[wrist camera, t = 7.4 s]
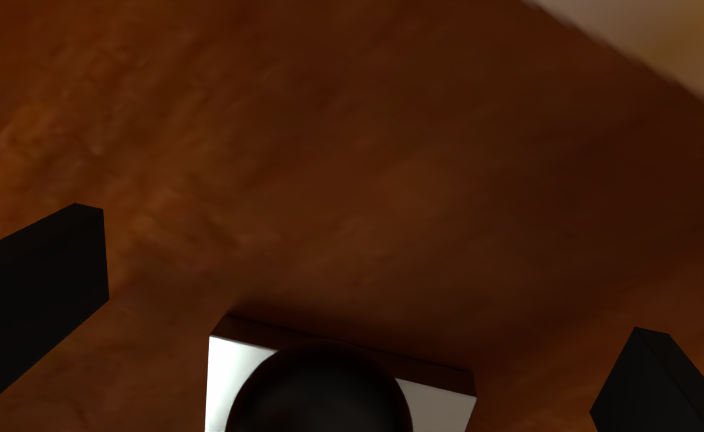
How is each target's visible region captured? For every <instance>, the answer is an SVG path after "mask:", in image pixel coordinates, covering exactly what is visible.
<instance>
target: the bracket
mask: <svg viewBox="0 0 704 432" xmlns="http://www.w3.org/2000/svg"><path fill="white" fill-rule="evenodd" d="M312 339H324V338H320V337H316V336H311V335H307V334H303V333H299V332H294V331H290V330H286V329H281V328H277V327H273V326H269V325H264V324H260V323H256V322H251V321H247V320H243V319H238V318H234V317H230V316H226V315H224V316H223V317H222V318H221V319H220V321H219V322H218V324H217V325H216V327H215V328H214V329H213V331H212V332H211V334H210V335H209V354H208V374H207V394H206V414H205V432H225V427H226V422H227V419H228V415H229V412H230V409H231V406H232V404H233V401H234V399H235V397H236V395H237V393H238V391H239V390H240V388H241V386H242V385H243V383H244V382H245V380H246V379H247V378H248V376H249V375H250V374H251V373H252V371H253V370H254V369H255V368H256V367H257V366H258V365H259V364H260V363H261V362H263V361H264V360H265V359H267V358H268V357H269V356H271V355H272V354H274V353H275V352H277V351H279V350H281V349H282V348H284V347H286V346H289V345H291V344H294V343H297V342H301V341H305V340H312ZM357 347H359V346H357ZM359 348H361V349H363V350H365V351H366V352H368V353H370V354H371V355H373V356H374V357H375V358H376V359H378V360H379V361H380V362H381V363H382V364H383V365H384V366H385V367H386V368H387V369H388V370H389V371H390V372H391V374H392V375H393V376H394V378H395V379H396V381H397V382H398V384H399V386H400V388H401V389H402V391H403V393H404V395H405V398H406V400H407V403H408V406H409V408H410V412H411V416H412V421H413V429H414V432H465V430H466V427H467V424H468V422H469V419H470V416H471V414H472V411H473V408H474V406H475V403H476V400H477V394H476V388H475V382H474V376H473V373H470V372H466V371H462V370H457V369H453V368H449V367H445V366H440V365H436V364H432V363H427V362H423V361H419V360H415V359H410V358H406V357H402V356H397V355H393V354H389V353H384V352H380V351H376V350H372V349H367V348H363V347H359Z"/></svg>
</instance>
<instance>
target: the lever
mask: <svg viewBox="0 0 704 432" xmlns="http://www.w3.org/2000/svg"><path fill="white" fill-rule="evenodd" d="M225 432H414V429H413V421H412V416H411V412H410V408H409V406H408V403H407V400H406V398H405V395H404V393H403V391H402V389H401V388H400V386H399V384H398V382H397V381H396V379H395V378H394V376H393V375H392V374H391V372H390V371H389V370H388V369H387V368H386V367H385V366H384V365H383V364H382V363H381V362H380V361H379V360H378V359H376V358H375V357H374V356H373V355H371V354H370V353H368V352H366V351H365V350H363V349H361V348H359V347H357V346H355V345H352V344H349V343H346V342H343V341H338V340H332V339H312V340H305V341H301V342H297V343H294V344H291V345H289V346H286V347H284V348H282V349H281V350H279V351H277V352H275V353H274V354H272V355H271V356H269V357H268V358H267V359H265V360H264V361H263V362H261V363H260V364H259V365H258V366H257V367H256V368H255V369H254V370H253V371H252V373H251V374H250V375H249V376H248V378H247V379H246V380H245V382H244V383H243V385H242V386H241V388H240V390H239V391H238V393H237V395H236V397H235V399H234V401H233V404H232V406H231V409H230V412H229V415H228V419H227V422H226V427H225Z"/></svg>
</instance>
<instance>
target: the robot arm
mask: <svg viewBox="0 0 704 432" xmlns="http://www.w3.org/2000/svg"><path fill="white" fill-rule="evenodd" d="M108 300H109V289H108V274H107V260H106V245H105V230H104V216H103V209H100V208H95V207H91V206H86V205H82V204H77V203H73V204H71V205H69V206H67V207H65V208H63V209H61V210H59V211H57V212H55V213H53V214H51V215H49V216H47V217H45V218H43V219H41V220H39V221H37V222H35V223H33V224H31V225H29V226H27V227H25V228H23V229H21V230H19V231H17V232H15V233H13V234H11V235H9V236H7V237H5V238H3V239H1V240H0V394H1V393H2V392H3V391H4V390H5V389H7V388H8V387H9V386H10V385H11V384H12V383H13V382H15V381H16V380H17V379H18V378H19V377H20V376H22V375H23V374H24V373H25V372H26V371H27V370H28V369H30V368H31V367H32V366H33V365H34V364H35V363H37V362H38V361H39V360H40V359H41V358H42V357H44V356H45V355H46V354H47V353H48V352H49V351H50V350H52V349H53V348H54V347H55V346H56V345H57V344H59V343H60V342H61V341H62V340H63V339H64V338H66V337H67V336H68V335H69V334H70V333H71V332H72V331H74V330H75V329H76V328H77V327H78V326H79V325H81V324H82V323H83V322H84V321H85V320H86V319H87V318H89V317H90V316H91V315H92V314H93V313H94V312H96V311H97V310H98V309H99V308H100V307H101V306H103V305H104V304H105V303H106V302H107V301H108ZM589 413H590V415H591V417H592V419H593V422H594V424H595V426H596V428H597V431H598V432H704V377H703V375H702V374H701V373H700V372H699V370H698V369H697V368H696V367H695V366H694V364H693V363H692V362H691V361H690V359H689V358H688V357H687V356H686V355H685V353H684V352H683V351H682V350H681V349H680V347H679V346H678V345H677V344H676V342H675V341H674V340H673V339H672V338H671V336H670V335H669V334H666V333H662V332H657V331H653V330H648V329H643V328H639V327H634V329H633V331H632V333H631V335H630V337H629V339H628V341H627V342H626V344H625V346H624V348H623V350H622V352H621V354H620V356H619V357H618V359H617V361H616V363H615V365H614V367H613V369H612V371H611V372H610V374H609V376H608V378H607V380H606V382H605V384H604V386H603V387H602V389H601V391H600V393H599V395H598V397H597V399H596V401H595V402H594V404H593V406H592V408H591V410H590V412H589Z"/></svg>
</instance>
